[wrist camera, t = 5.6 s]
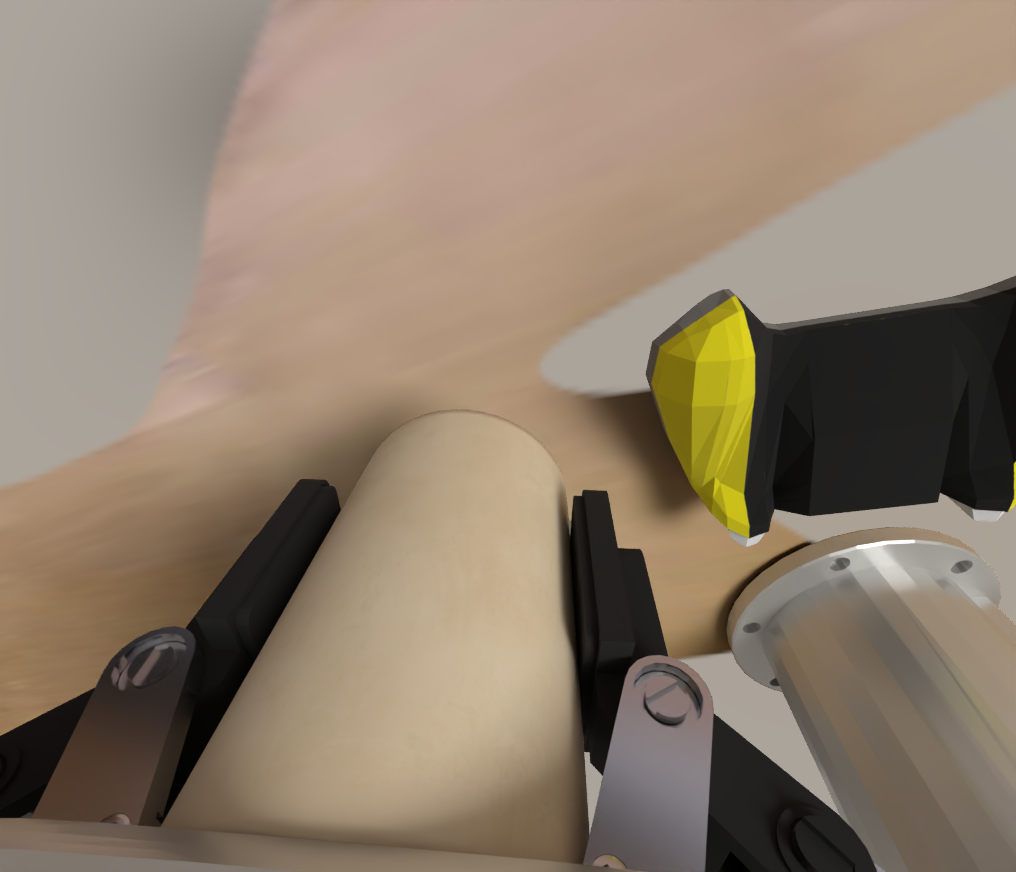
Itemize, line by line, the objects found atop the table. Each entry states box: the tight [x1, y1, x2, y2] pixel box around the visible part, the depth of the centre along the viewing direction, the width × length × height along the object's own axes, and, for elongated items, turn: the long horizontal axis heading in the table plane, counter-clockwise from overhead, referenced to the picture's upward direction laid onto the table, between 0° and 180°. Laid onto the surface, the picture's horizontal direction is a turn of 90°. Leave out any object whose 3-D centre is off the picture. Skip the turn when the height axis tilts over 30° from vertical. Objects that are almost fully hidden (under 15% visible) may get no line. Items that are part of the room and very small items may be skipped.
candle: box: [161, 410, 589, 865], centre depth 9 cm, size 6×6×10 cm
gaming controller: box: [646, 276, 1016, 547], centre depth 16 cm, size 15×6×10 cm
